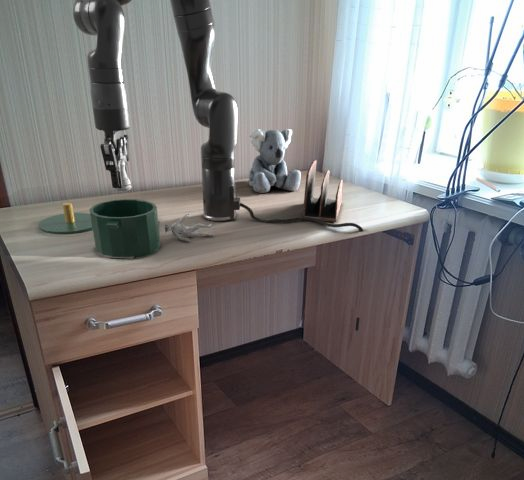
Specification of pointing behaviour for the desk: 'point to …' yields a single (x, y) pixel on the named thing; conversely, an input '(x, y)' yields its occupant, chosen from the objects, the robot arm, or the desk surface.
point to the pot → (125, 228)
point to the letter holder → (321, 198)
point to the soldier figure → (186, 229)
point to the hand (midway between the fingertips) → (120, 184)
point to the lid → (66, 222)
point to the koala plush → (272, 162)
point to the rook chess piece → (123, 177)
